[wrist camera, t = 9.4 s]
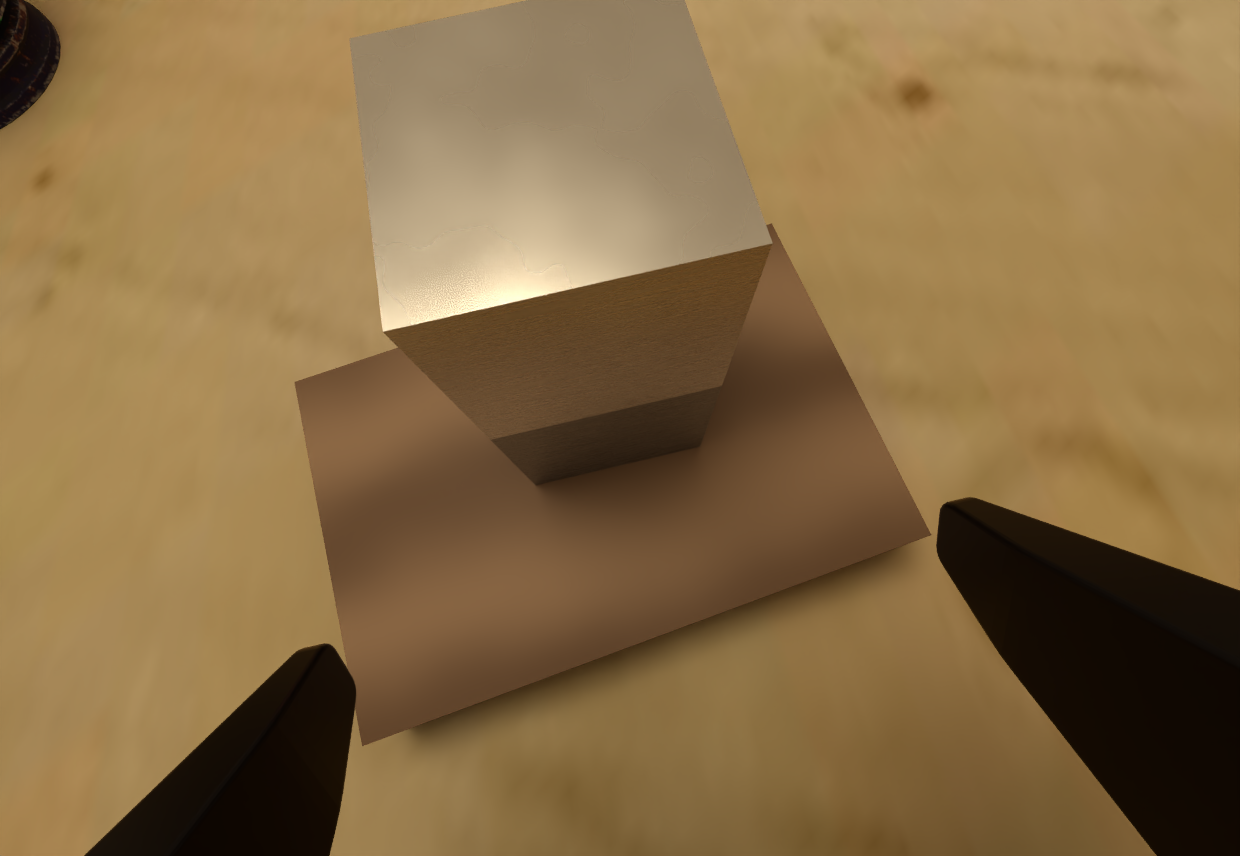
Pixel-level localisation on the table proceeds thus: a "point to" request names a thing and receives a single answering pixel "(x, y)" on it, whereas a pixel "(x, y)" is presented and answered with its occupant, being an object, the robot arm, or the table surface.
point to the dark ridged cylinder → (24, 57)
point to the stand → (584, 518)
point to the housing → (560, 224)
